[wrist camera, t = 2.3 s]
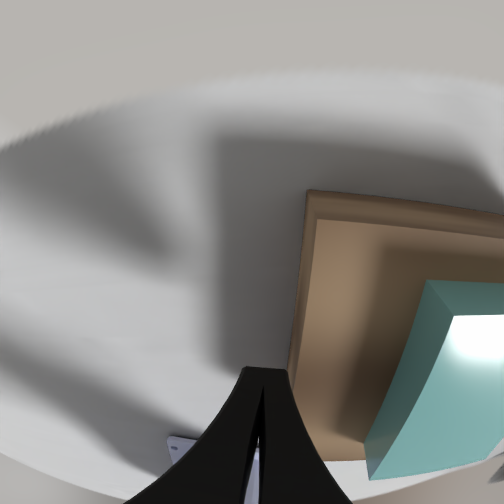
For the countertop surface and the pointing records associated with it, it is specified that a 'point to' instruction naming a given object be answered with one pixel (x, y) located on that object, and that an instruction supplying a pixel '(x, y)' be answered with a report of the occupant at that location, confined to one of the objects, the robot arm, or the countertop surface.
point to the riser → (371, 301)
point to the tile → (444, 385)
